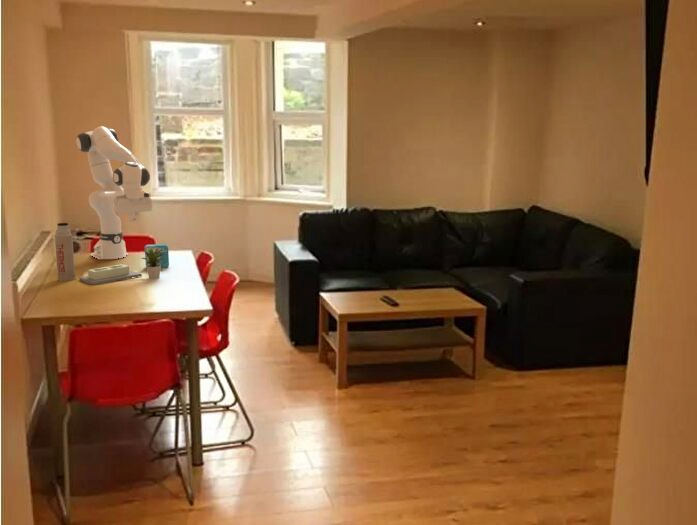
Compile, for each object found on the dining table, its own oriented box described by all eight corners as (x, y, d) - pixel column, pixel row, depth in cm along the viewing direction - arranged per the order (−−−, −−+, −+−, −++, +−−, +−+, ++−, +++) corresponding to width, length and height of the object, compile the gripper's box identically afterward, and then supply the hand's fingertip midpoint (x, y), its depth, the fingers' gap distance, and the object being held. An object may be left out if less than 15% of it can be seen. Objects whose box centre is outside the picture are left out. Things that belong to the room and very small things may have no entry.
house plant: (160, 282, 348) (158, 249, 344) (134, 280, 351) (132, 248, 347) (173, 276, 362) (171, 244, 358) (147, 274, 364) (146, 243, 361)
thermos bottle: (66, 281, 348) (61, 224, 342) (54, 279, 351) (50, 223, 346) (79, 278, 355) (74, 222, 349) (67, 276, 358) (63, 221, 353)
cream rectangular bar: (122, 271, 363) (122, 264, 362) (129, 273, 359) (128, 266, 358) (88, 277, 350) (87, 269, 349) (95, 279, 345) (94, 271, 345)
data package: (145, 268, 378) (144, 246, 376) (145, 266, 383) (144, 244, 380) (169, 267, 382) (168, 245, 379) (168, 265, 386) (167, 243, 383)
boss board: (79, 280, 350) (78, 271, 350) (127, 272, 369) (126, 263, 368) (93, 285, 341) (92, 276, 340) (141, 276, 360) (141, 267, 359)
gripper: (117, 196, 354) (118, 224, 357) (153, 193, 368) (154, 220, 371) (110, 195, 358) (112, 222, 361) (146, 192, 373) (147, 218, 376)
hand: (133, 221), depth 366 cm, fingers closed
